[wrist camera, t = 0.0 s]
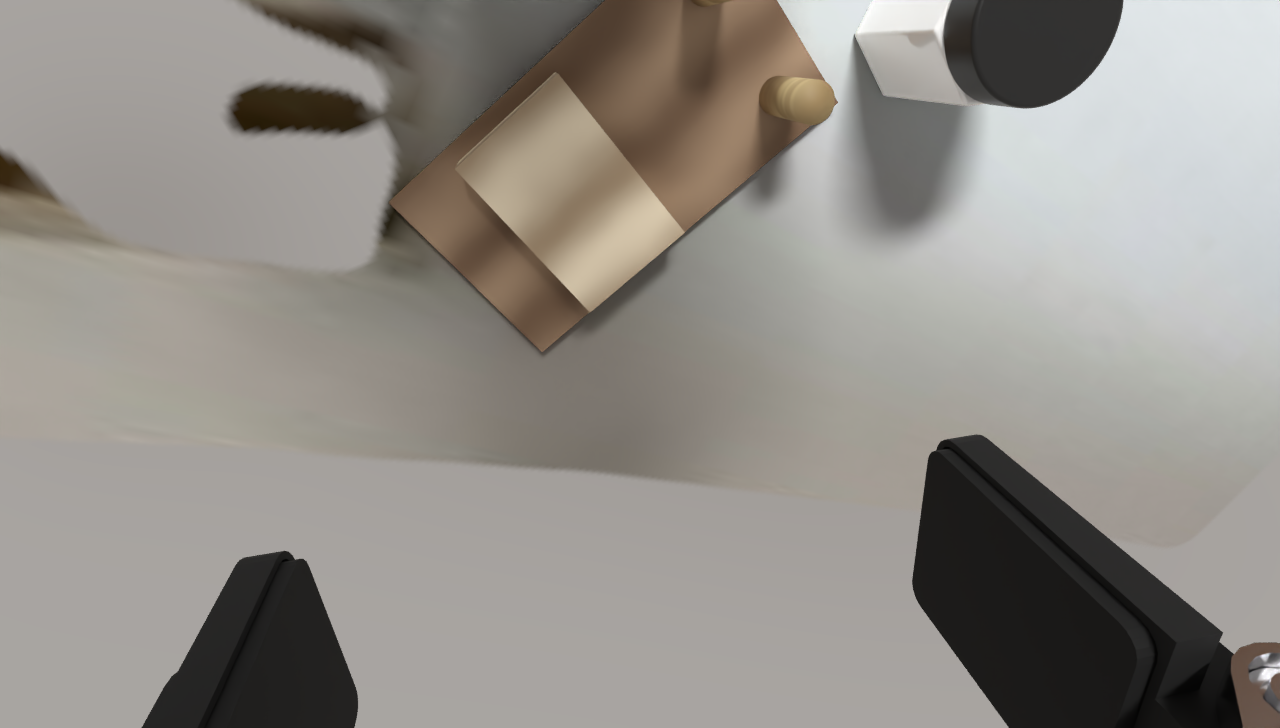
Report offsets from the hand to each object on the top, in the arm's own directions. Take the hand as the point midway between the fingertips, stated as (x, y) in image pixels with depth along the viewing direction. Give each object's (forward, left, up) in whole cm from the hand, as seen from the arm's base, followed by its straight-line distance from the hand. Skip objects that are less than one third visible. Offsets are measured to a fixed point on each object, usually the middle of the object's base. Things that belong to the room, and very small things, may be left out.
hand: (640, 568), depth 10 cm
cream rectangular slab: (+2, 0, -36) cm, 36 cm away
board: (+2, +4, -37) cm, 38 cm away
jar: (+9, +24, -38) cm, 46 cm away
